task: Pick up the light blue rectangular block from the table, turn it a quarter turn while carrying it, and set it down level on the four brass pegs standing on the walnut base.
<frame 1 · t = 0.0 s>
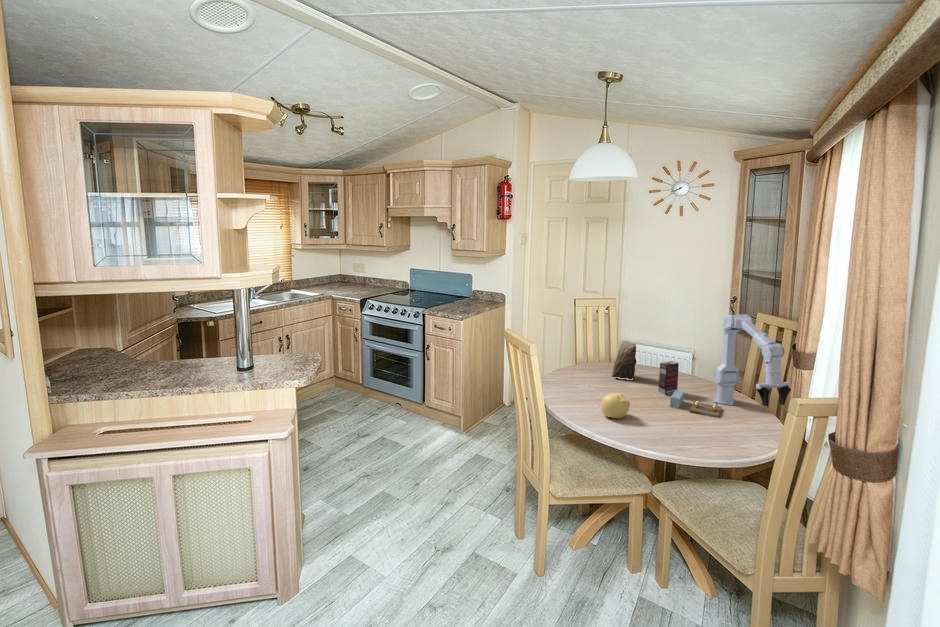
hand: (773, 405, 210), 11 cm above the table, tool pointing down, fingers open, 7 cm apart
brown rock: (621, 377, 281), on the table
yellow round lump: (614, 416, 227), on the table
light blue rectangular block: (676, 404, 240), on the table
peg stand: (705, 410, 232), on the table
supplement box: (667, 393, 256), on the table
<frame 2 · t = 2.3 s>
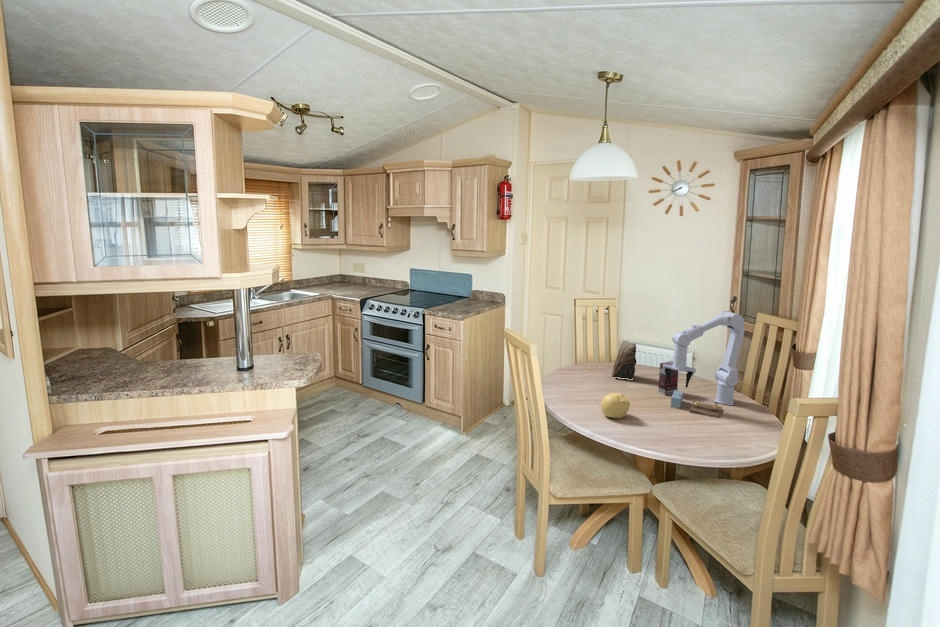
hand: (678, 385, 239), 9 cm above the table, tool pointing down, fingers open, 7 cm apart
nothing on the table moved.
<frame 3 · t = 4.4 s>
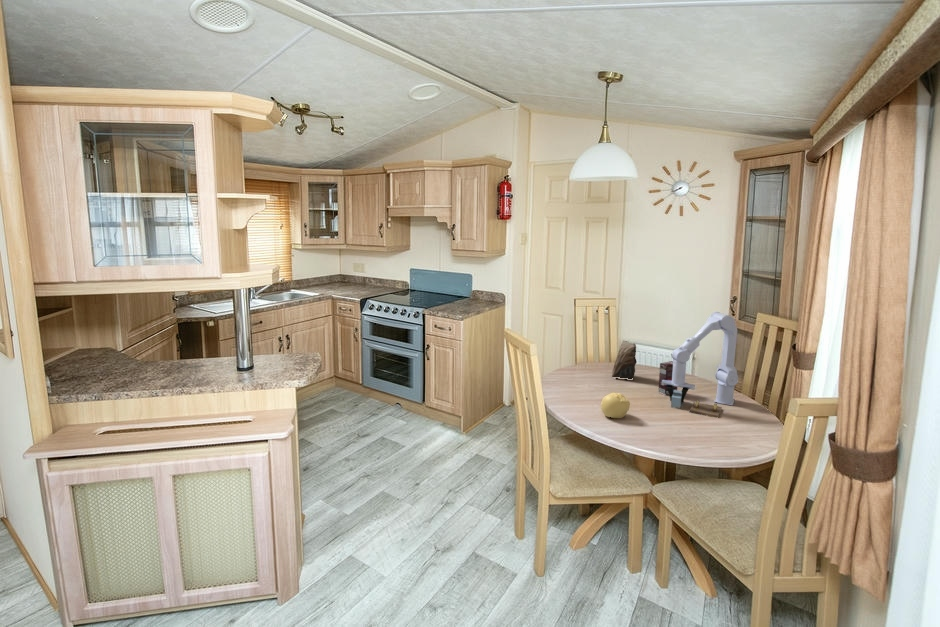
hand: (676, 401, 240), 1 cm above the table, tool pointing down, fingers closed on light blue rectangular block, 4 cm apart
light blue rectangular block: (676, 404, 240), on the table, touching gripper
everything else where it was.
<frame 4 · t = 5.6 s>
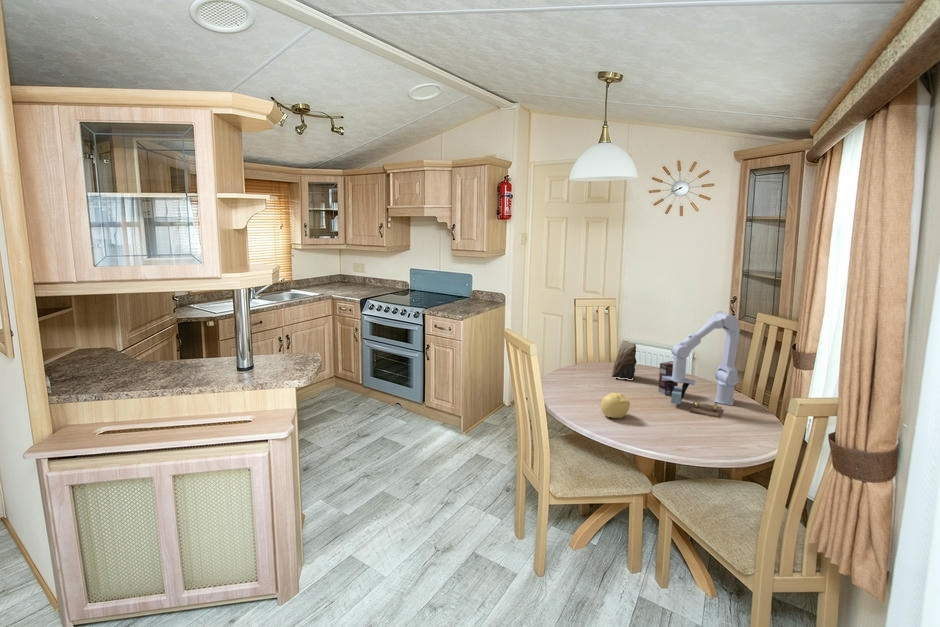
hand: (677, 397, 240), 4 cm above the table, tool pointing down, fingers closed on light blue rectangular block, 4 cm apart
light blue rectangular block: (677, 399, 240), point 2 cm above the table, touching gripper
everything else where it was.
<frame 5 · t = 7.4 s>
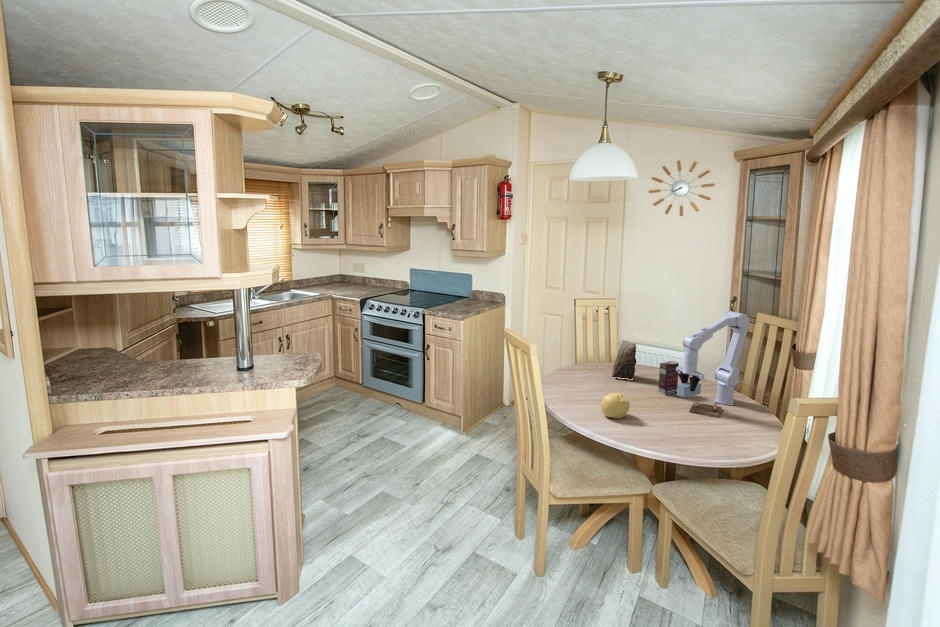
hand: (688, 389, 236), 8 cm above the table, tool pointing down, fingers closed on light blue rectangular block, 4 cm apart
light blue rectangular block: (688, 394, 236), point 6 cm above the table, touching gripper
everything else where it was.
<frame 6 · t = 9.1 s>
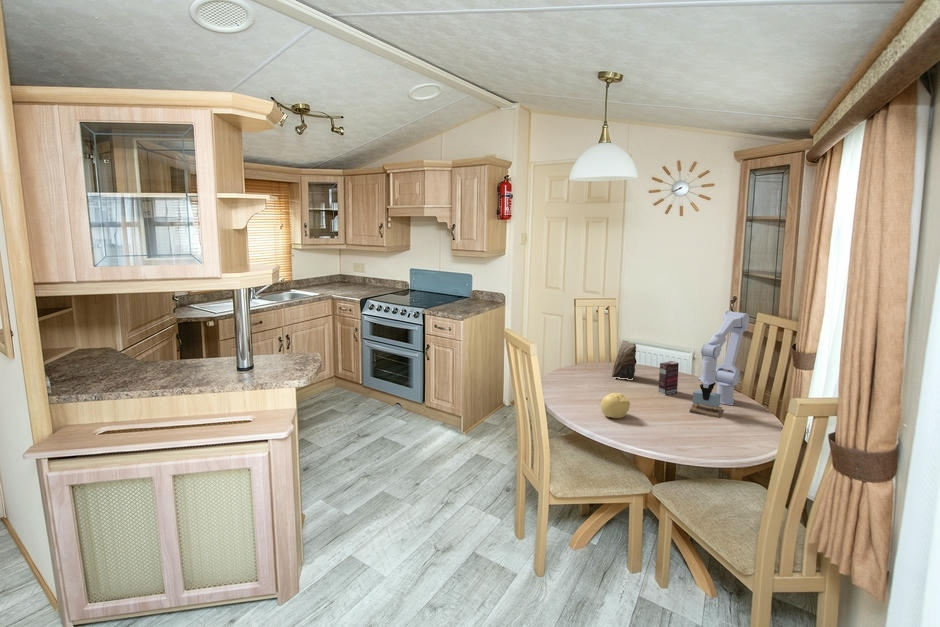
hand: (706, 398, 231), 6 cm above the table, tool pointing down, fingers closed on light blue rectangular block, 4 cm apart
light blue rectangular block: (706, 403, 231), point 3 cm above the table, touching gripper, peg stand
everything else where it was.
when the fingers open (6 cm above the table, at t = 9.7 s): light blue rectangular block stays where it is, resting on peg stand.
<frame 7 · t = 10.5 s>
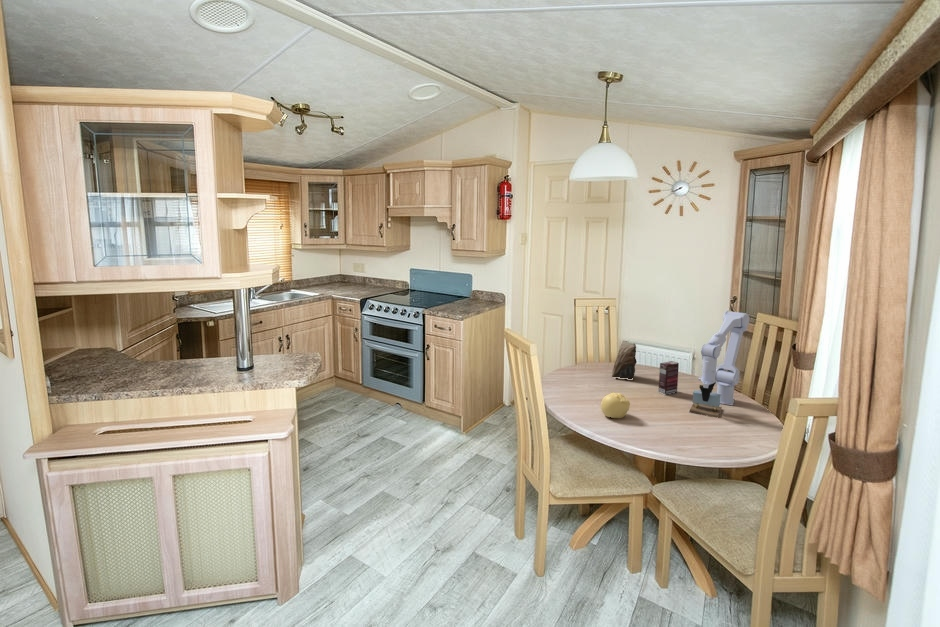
hand: (706, 398, 231), 6 cm above the table, tool pointing down, fingers open, 7 cm apart
light blue rectangular block: (706, 403, 231), point 3 cm above the table, touching peg stand
everything else where it was.
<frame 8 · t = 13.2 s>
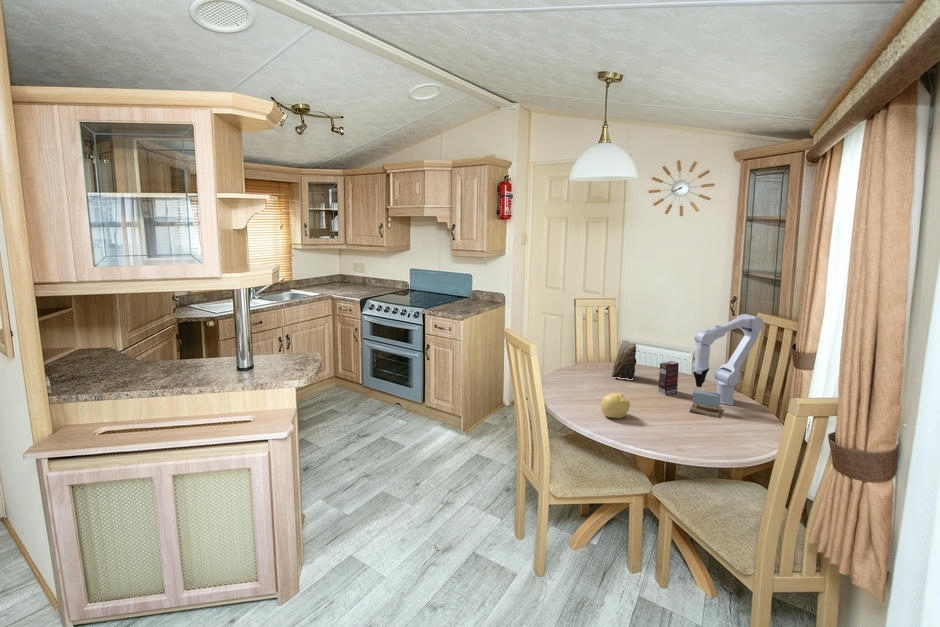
hand: (700, 384, 238), 10 cm above the table, tool pointing down, fingers open, 7 cm apart
nothing on the table moved.
at the end: light blue rectangular block 0.1 cm off-centre on the peg stand, point 3.5 cm above the peg stand's base; light blue rectangular block tilted 0°; the gripper is holding nothing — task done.
